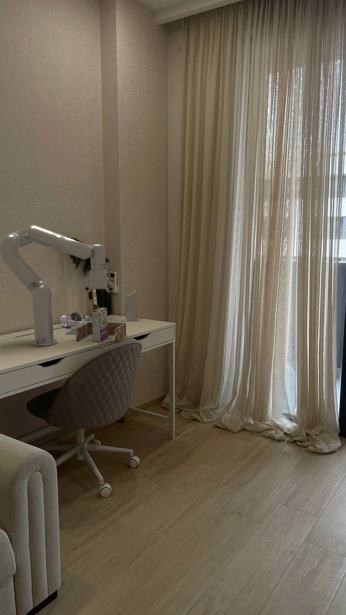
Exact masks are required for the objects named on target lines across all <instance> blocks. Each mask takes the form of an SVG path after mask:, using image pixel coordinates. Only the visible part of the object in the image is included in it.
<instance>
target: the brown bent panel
mask: <svg viewBox="0 0 346 615" xmlns="http://www.w3.org/2000/svg"><path fill="white" fill-rule="evenodd" d="M107 326H108V336H114V343H118V342H120V340H122V339H123V338H125V337H126V336H127V323H126V322H113V321H111V322H108V321H107ZM75 330H76V335H75V337H76V338H75V340H76V341H75V342H80V341H82V340H83V339H85V338H86V337H88V336H89V335H93V329H92V322H87V323H85V324H83V325H81V326H79V327H78V328H75Z"/></svg>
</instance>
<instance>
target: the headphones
mask: <svg viewBox="0 0 346 615" xmlns="http://www.w3.org/2000/svg"><path fill="white" fill-rule="evenodd" d="M83 318H84V319H83ZM87 322H92V316H89V315H86V314H85V313H84V312H83V311H74V312H72V313H65V314H63V315H62V316H60V323H61V324H62V326H63V327H64V328H69V327H73V328H74V329H76V328H78V327H79V326H81V325H83V324H85V323H87Z"/></svg>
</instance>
